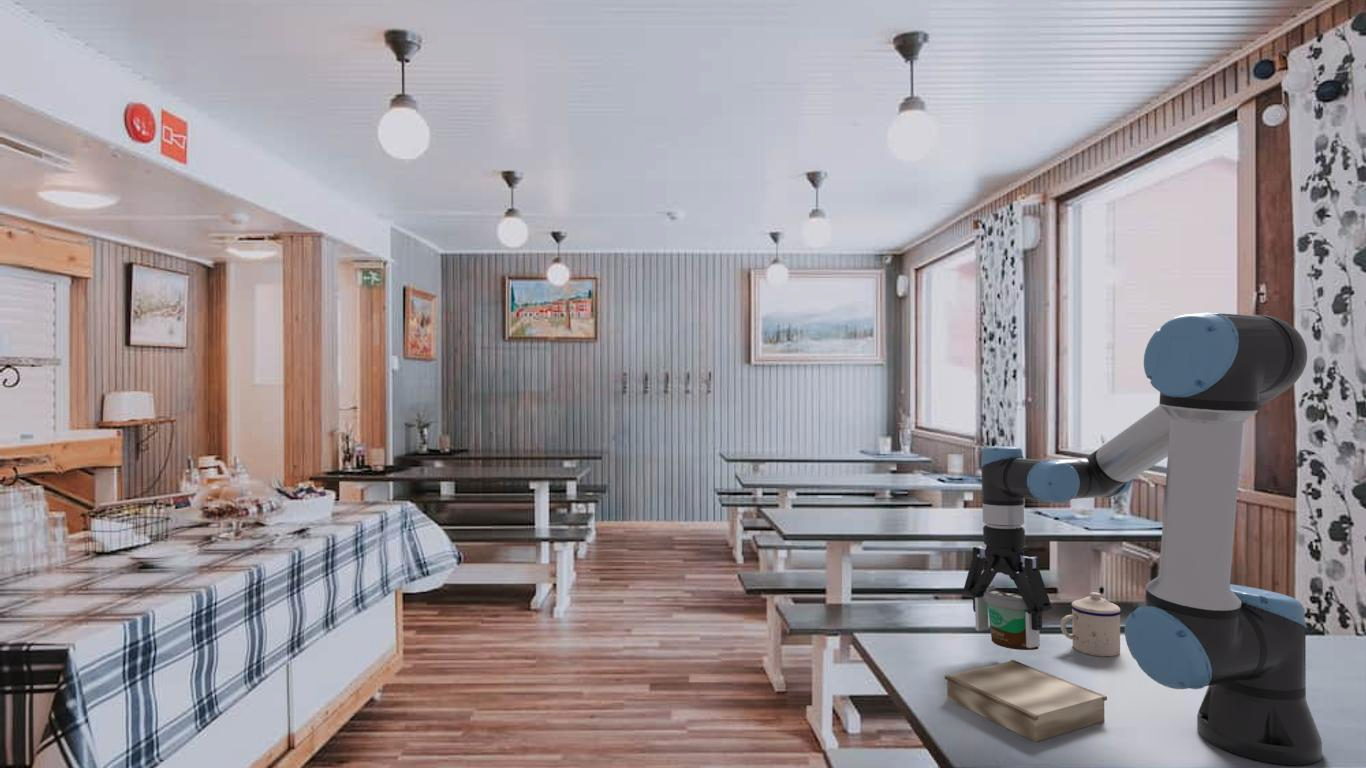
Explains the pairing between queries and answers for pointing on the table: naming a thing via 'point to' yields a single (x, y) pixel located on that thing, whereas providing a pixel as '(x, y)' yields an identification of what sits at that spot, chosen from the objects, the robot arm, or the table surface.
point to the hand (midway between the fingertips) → (1006, 637)
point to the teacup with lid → (1094, 626)
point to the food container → (1007, 619)
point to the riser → (1026, 699)
